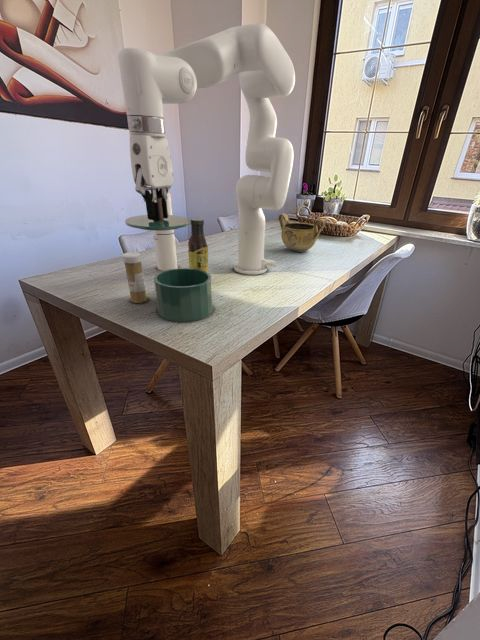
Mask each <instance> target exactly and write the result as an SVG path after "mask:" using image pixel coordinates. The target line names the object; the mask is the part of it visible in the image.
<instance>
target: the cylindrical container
mask: <svg viewBox="0 0 480 640" xmlns="http://www.w3.org/2000/svg"><path fill="white" fill-rule="evenodd" d="M149 192H150V193H151V191H149ZM166 202H167V211H168V215H173V205H172V196H171V193H170V192H168V193H167V201H166ZM152 235H153V236H152V237H153V243H154V250H155V258H156V267H157V270H159V271H166V270H169V269H176V268H178V257H177V247H176V237H175V229H173V230H162V231H154V230H152Z"/></svg>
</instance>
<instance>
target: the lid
mask: <svg viewBox="0 0 480 640" xmlns="http://www.w3.org/2000/svg"><path fill="white" fill-rule="evenodd" d="M156 199H157V201H156V202H158V203H159V210H160V220H159V221H156V220H149V219H148V216H147V214H142V215H134V216H131V217H128V218H126V219H125V220H124V224H125V225H126V226H128V227H130V228H134V229H139V230H145V231H153V230H154V231H162V230H173V229H174V230H178V229H182V228H186V227H189V226H191V221H190V219H191V218H190V219H189V218H188V217H185V216H181V215H173V214H172V215H168V218H164V216H163V208H162V199H161V198H158V197H156Z"/></svg>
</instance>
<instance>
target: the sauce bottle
mask: <svg viewBox="0 0 480 640" xmlns="http://www.w3.org/2000/svg"><path fill="white" fill-rule="evenodd" d="M190 221H191V224H190V227H191V230H190V231H191V232H190V234H191V235H190V237H189V239H188V243H187V246H188V247H187V248H188V250H187V251H188V252H187V253H188V268H191V269H198V270H203V271H205V272H207V273H209V246H208V244H207V240H206V237H205V232H204V225H205V220H204V219H203V218H195V217H194V218H190Z"/></svg>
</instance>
